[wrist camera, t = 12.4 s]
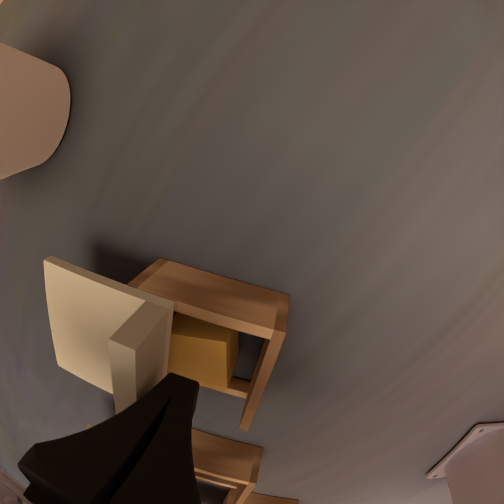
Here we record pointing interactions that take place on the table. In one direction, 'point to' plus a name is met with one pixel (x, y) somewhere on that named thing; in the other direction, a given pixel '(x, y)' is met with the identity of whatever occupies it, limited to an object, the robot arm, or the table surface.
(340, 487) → the table surface
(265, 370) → the crates
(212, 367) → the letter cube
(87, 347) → the lid
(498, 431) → the robot arm
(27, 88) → the cup
